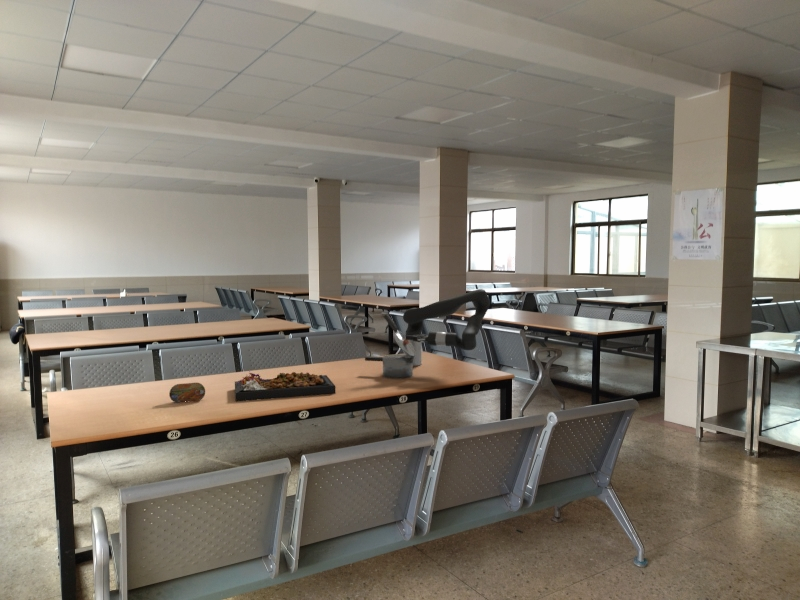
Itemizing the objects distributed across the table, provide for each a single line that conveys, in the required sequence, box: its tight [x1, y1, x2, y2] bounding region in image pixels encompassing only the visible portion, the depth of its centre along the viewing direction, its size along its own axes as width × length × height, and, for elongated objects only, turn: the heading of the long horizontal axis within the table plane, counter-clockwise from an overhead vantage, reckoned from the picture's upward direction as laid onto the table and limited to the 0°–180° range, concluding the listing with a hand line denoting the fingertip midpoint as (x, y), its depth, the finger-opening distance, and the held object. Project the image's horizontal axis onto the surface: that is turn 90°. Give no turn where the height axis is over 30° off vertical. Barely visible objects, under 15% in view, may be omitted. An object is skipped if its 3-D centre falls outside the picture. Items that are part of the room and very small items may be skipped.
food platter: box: [234, 370, 336, 402], centre depth 275 cm, size 45×25×10 cm, turn 107°
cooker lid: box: [383, 313, 415, 359], centre depth 307 cm, size 27×17×3 cm
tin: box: [169, 382, 206, 403], centre depth 257 cm, size 15×3×8 cm, turn 106°
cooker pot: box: [364, 353, 415, 380], centre depth 310 cm, size 27×16×10 cm, turn 73°
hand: (406, 337), depth 306 cm, fingers closed
